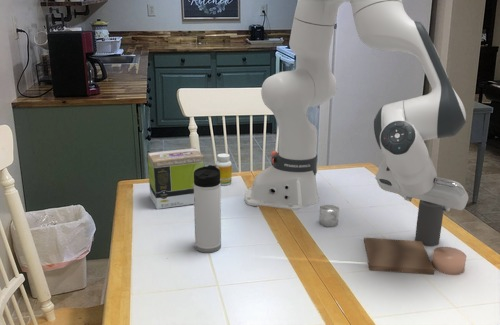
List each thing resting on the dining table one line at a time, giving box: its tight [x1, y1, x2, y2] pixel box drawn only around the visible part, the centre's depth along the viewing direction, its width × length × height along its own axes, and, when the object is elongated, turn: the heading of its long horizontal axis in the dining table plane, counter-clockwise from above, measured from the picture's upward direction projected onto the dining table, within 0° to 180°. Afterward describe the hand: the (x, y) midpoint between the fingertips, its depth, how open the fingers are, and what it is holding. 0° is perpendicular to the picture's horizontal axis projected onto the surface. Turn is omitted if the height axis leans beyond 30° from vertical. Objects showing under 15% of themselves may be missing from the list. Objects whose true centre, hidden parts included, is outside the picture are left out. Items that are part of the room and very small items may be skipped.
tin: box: [318, 204, 340, 228], centre depth 136 cm, size 5×5×5 cm
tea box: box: [147, 147, 206, 210], centre depth 150 cm, size 15×10×15 cm, turn 111°
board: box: [363, 237, 435, 275], centre depth 120 cm, size 14×14×1 cm
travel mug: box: [193, 164, 222, 254], centre depth 121 cm, size 6×7×20 cm
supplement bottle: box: [214, 153, 233, 186], centre depth 166 cm, size 5×5×10 cm
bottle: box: [414, 200, 444, 247], centre depth 127 cm, size 6×6×15 cm
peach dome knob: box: [431, 246, 467, 276], centre depth 116 cm, size 7×7×4 cm
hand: (427, 203), depth 123 cm, fingers open, 8 cm apart
